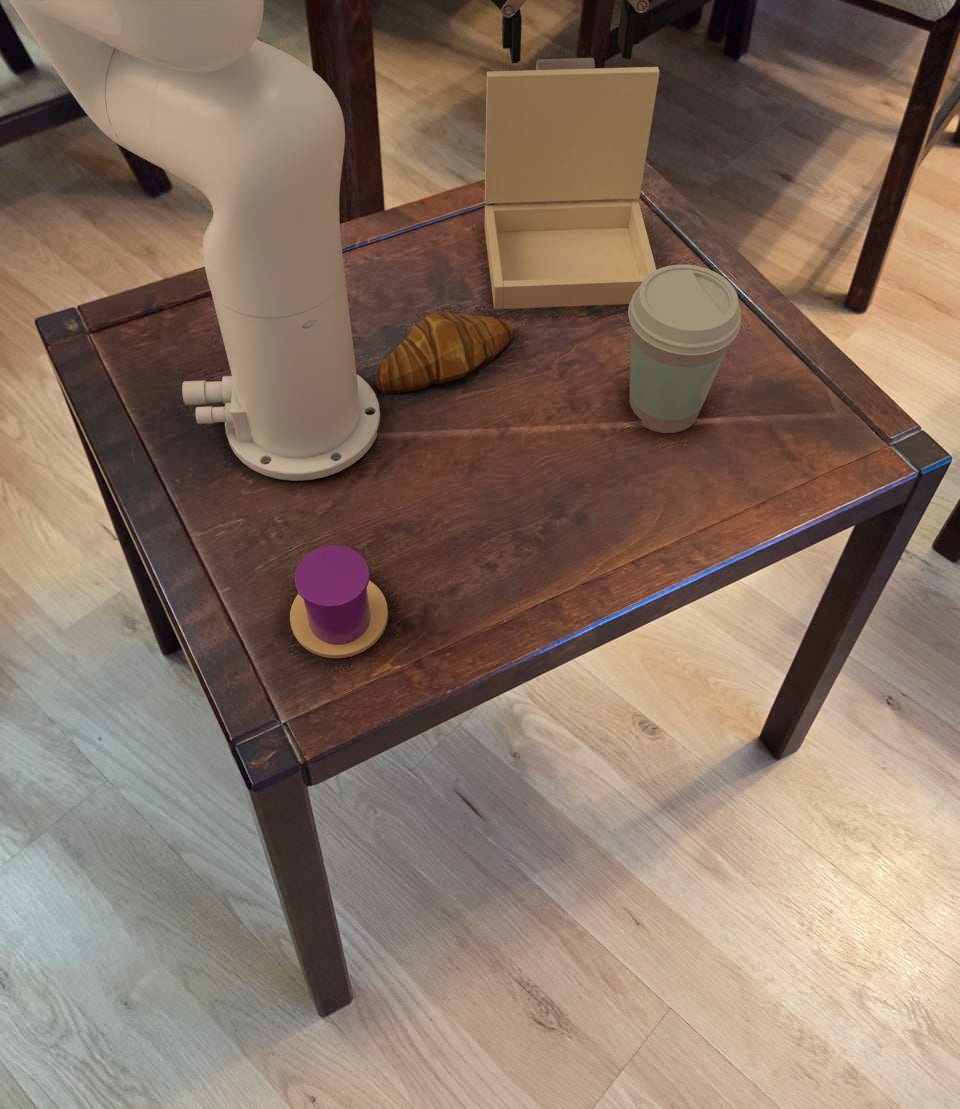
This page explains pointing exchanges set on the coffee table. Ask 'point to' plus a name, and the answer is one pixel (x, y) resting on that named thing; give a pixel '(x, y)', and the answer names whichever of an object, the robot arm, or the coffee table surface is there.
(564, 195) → the box lid
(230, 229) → the robot arm
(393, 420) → the coffee table surface
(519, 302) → the shallow wooden crate
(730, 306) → the coffee cup
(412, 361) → the croissant
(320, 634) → the coffee pod
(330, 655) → the coaster
